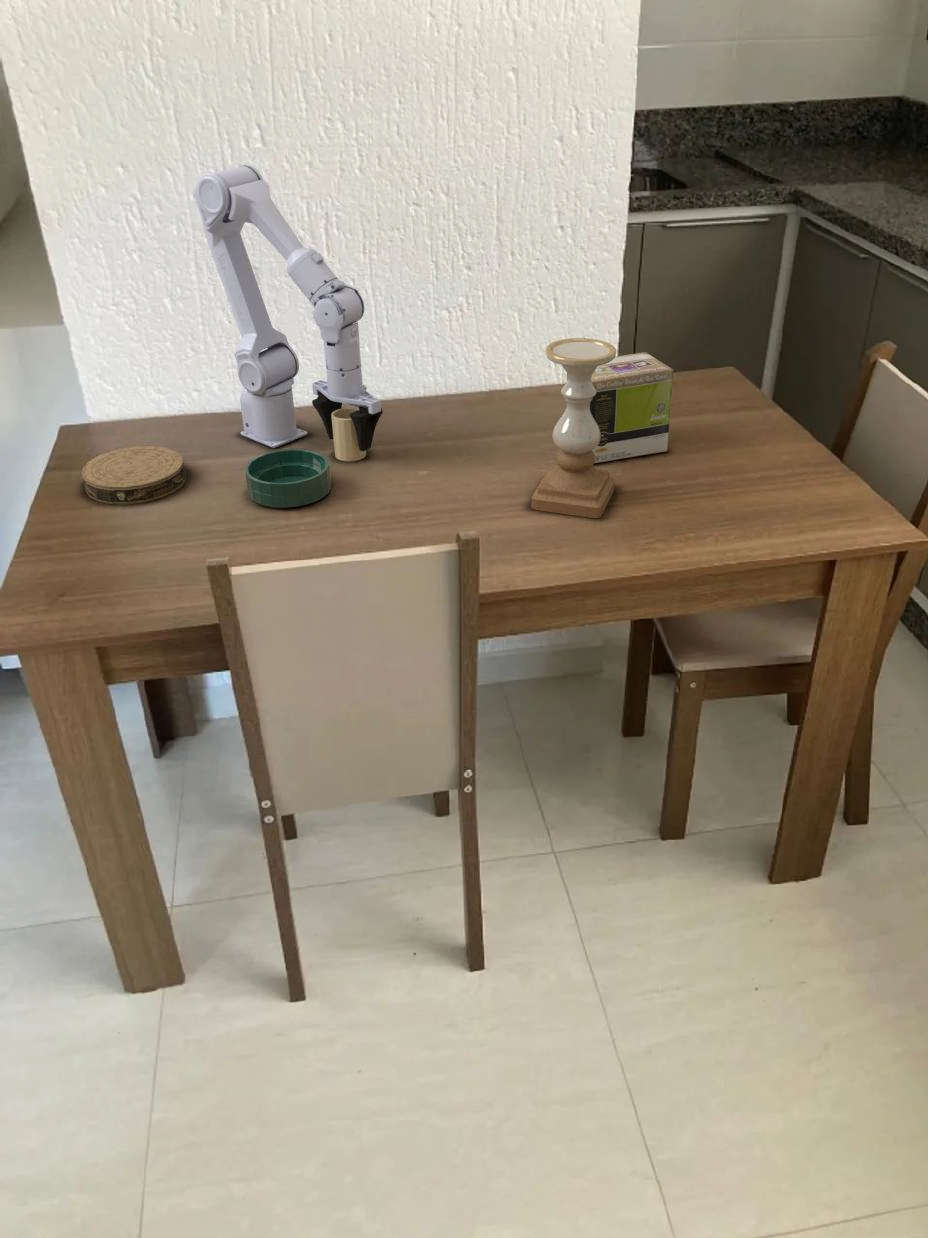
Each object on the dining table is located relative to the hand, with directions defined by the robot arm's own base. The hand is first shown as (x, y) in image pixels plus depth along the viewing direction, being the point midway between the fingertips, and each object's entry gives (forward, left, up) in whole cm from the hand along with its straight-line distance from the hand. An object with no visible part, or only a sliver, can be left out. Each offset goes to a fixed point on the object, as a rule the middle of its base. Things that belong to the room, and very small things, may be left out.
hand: (350, 443), depth 173 cm
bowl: (+3, -16, -2) cm, 16 cm away
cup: (0, 0, -2) cm, 2 cm away
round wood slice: (-19, -30, -2) cm, 36 cm away
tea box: (+33, +31, -2) cm, 45 cm away
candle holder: (+39, +11, -2) cm, 41 cm away
